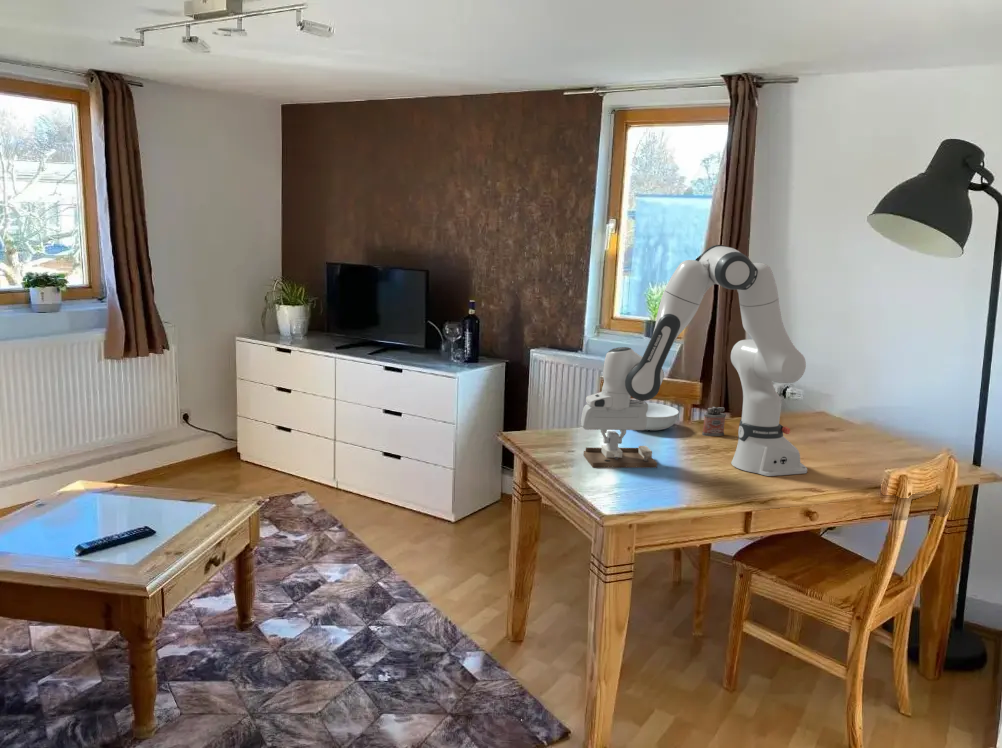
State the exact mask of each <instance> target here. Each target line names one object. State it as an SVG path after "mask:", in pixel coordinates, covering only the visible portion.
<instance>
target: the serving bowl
mask: <svg viewBox="0 0 1002 748" xmlns="http://www.w3.org/2000/svg"><path fill="white" fill-rule="evenodd" d="M646 403H647V404H648V411H647V413H646V416H647V427H646V428H645V429H644V430H643V431H648V430H650V432H653V431H654V432H655V431H661V430H665V429H668V428H670V427H672V426H673V425H674V424H676V422H677V421H678V418H679V415H680V414H679V413H680V411H679V410H678V409H677V408H675V407H673V406H671V405H666V404H661V403H656V402H655V403H654V402H646Z"/></svg>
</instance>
